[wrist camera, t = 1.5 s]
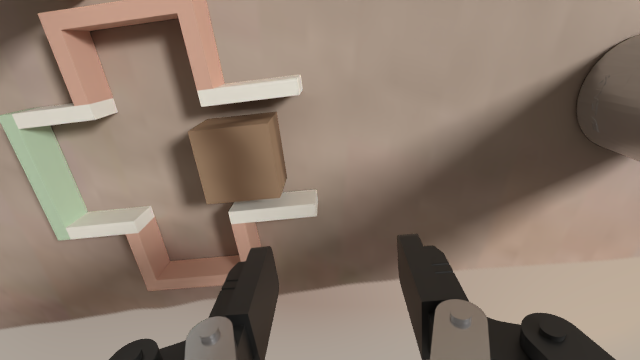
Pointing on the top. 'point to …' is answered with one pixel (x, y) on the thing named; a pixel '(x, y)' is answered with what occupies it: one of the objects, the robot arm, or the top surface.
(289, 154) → the top surface
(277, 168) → the walnut block
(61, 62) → the corral
